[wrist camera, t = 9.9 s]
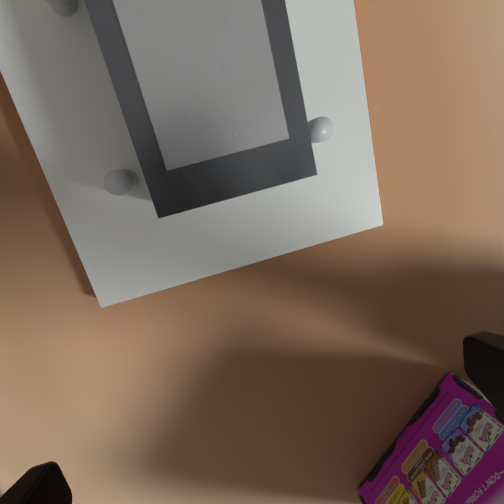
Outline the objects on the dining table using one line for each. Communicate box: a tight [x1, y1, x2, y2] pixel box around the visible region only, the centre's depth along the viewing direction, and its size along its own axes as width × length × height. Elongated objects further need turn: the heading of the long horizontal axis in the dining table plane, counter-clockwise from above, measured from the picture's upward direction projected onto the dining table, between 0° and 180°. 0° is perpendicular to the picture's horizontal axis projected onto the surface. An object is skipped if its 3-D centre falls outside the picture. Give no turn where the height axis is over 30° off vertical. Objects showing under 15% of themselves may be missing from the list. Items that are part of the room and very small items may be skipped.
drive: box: [84, 0, 317, 219], centre depth 13 cm, size 6×10×4 cm, turn 14°
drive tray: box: [0, 0, 383, 308], centre depth 14 cm, size 15×18×3 cm
